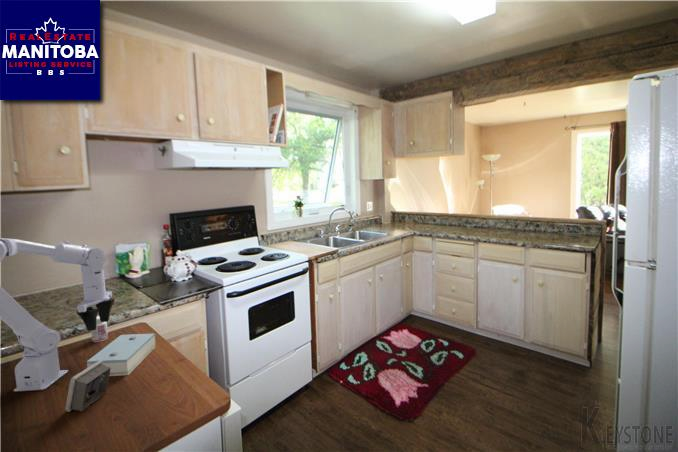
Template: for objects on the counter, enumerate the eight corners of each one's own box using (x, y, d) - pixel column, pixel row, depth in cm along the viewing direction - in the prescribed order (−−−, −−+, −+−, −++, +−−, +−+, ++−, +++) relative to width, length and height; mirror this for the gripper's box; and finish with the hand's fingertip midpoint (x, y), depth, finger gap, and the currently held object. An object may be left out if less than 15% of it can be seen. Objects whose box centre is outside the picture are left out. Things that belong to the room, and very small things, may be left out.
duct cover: (121, 337, 116) (121, 334, 116) (154, 335, 117) (154, 332, 117) (87, 364, 98) (86, 360, 98) (126, 362, 99) (126, 358, 99)
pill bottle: (100, 343, 121) (97, 320, 120) (89, 342, 122) (86, 319, 121) (111, 337, 126) (109, 315, 125) (100, 336, 127) (98, 314, 126)
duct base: (128, 375, 100) (126, 362, 99) (88, 377, 99) (87, 364, 99) (155, 346, 118) (154, 335, 117) (122, 348, 117) (121, 337, 116)
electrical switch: (95, 390, 92) (95, 358, 91) (113, 393, 92) (113, 361, 91) (64, 413, 83) (63, 377, 82) (83, 416, 83) (83, 380, 81)
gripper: (93, 291, 102) (97, 334, 104) (119, 278, 116) (123, 316, 118) (68, 292, 101) (73, 335, 103) (98, 279, 116) (102, 317, 117)
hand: (98, 325), depth 110 cm, fingers open, 6 cm apart
